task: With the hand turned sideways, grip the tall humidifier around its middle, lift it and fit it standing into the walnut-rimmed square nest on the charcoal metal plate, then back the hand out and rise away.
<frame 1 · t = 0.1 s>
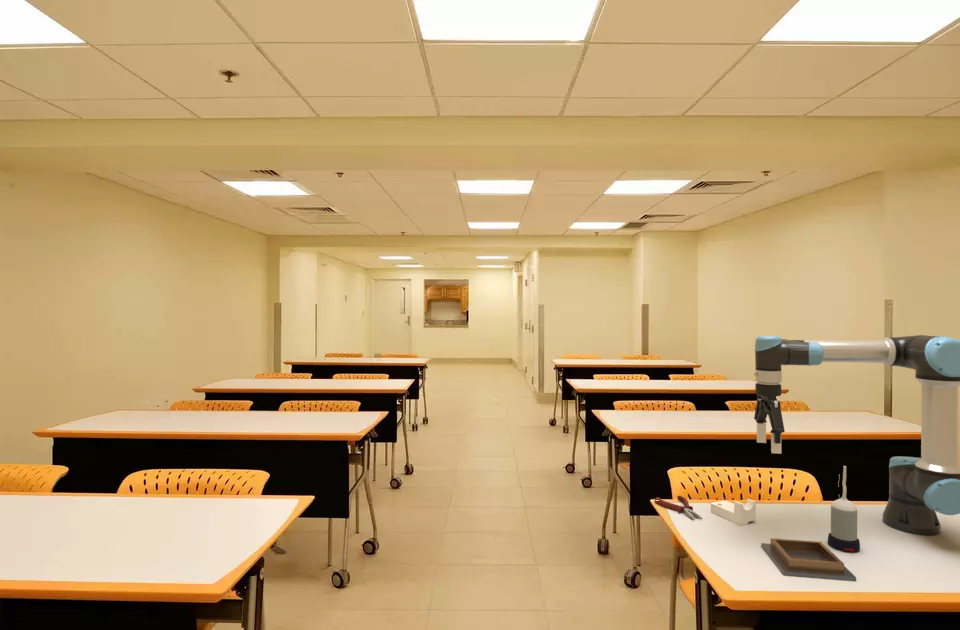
hand: (768, 447, 173), 28 cm above the table, tool pointing down, fingers open, 13 cm apart
fitting nest: (805, 562, 153), on the table
pliers: (676, 511, 193), on the table
bracket: (732, 518, 186), on the table
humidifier: (843, 547, 163), on the table
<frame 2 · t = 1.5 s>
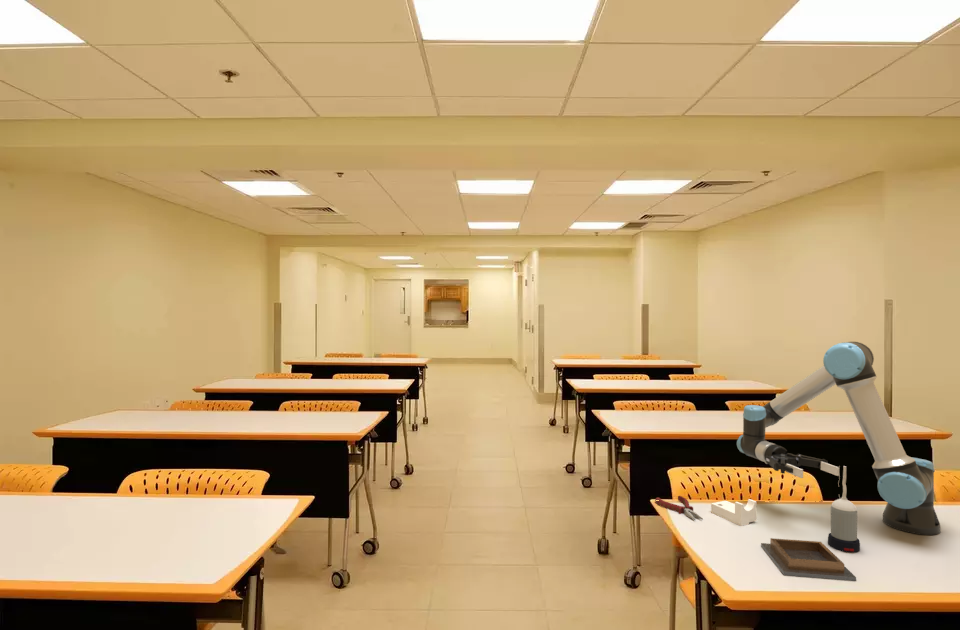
hand: (820, 472, 172), 20 cm above the table, tool horizontal, fingers open, 13 cm apart
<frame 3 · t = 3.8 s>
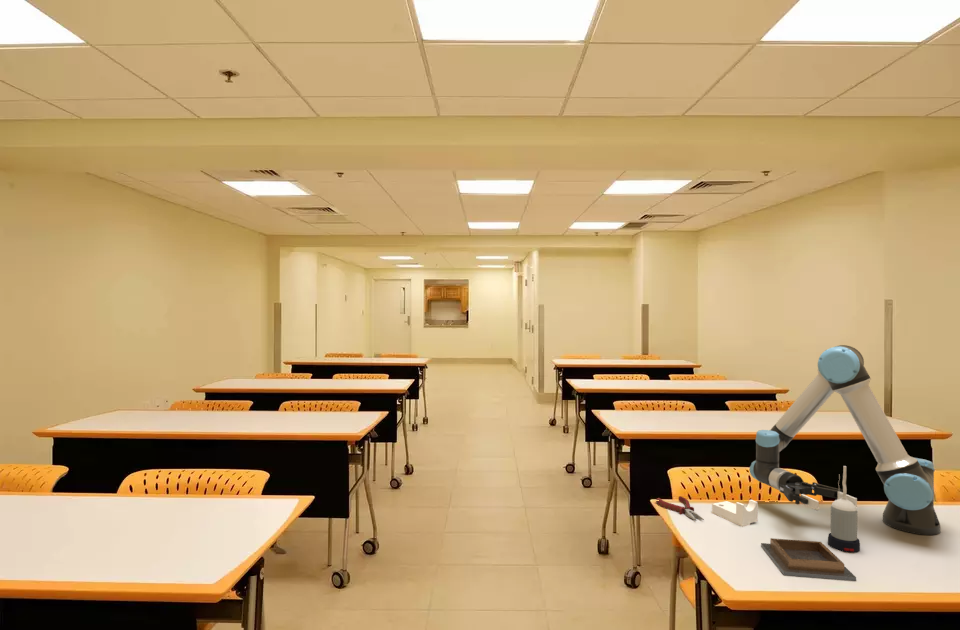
hand: (837, 504, 165), 12 cm above the table, tool horizontal, fingers open, 13 cm apart
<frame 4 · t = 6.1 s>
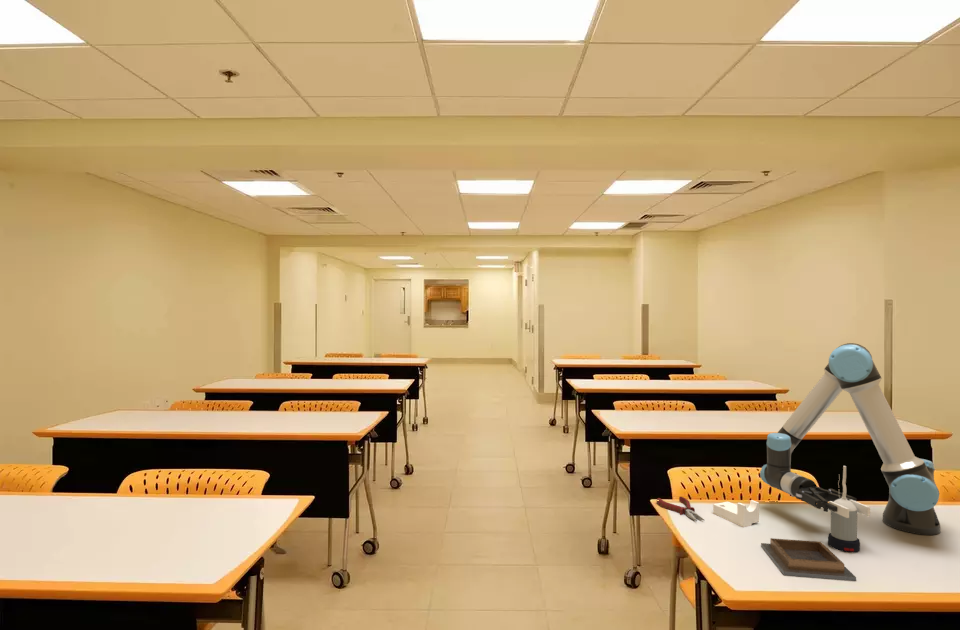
hand: (858, 512, 158), 13 cm above the table, tool horizontal, fingers closed on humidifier, 7 cm apart
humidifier: (843, 547, 163), on the table, touching gripper
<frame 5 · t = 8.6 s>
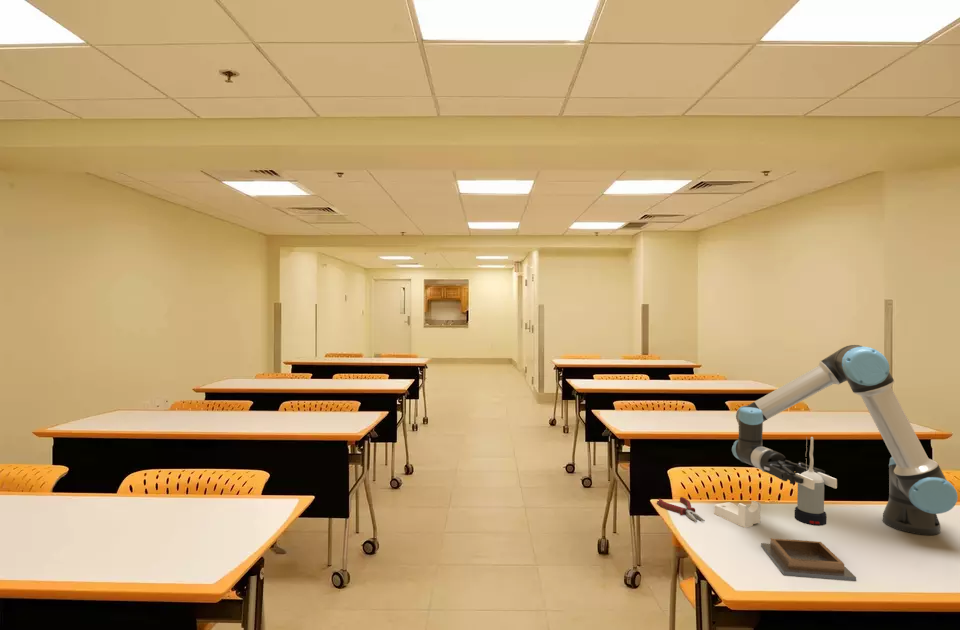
hand: (824, 484, 153), 23 cm above the table, tool horizontal, fingers closed on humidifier, 7 cm apart
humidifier: (810, 520, 158), point 10 cm above the table, touching gripper
when the fingers open (14 cm above the table, at t = 11.3 s): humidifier stays where it is, resting on fitting nest.
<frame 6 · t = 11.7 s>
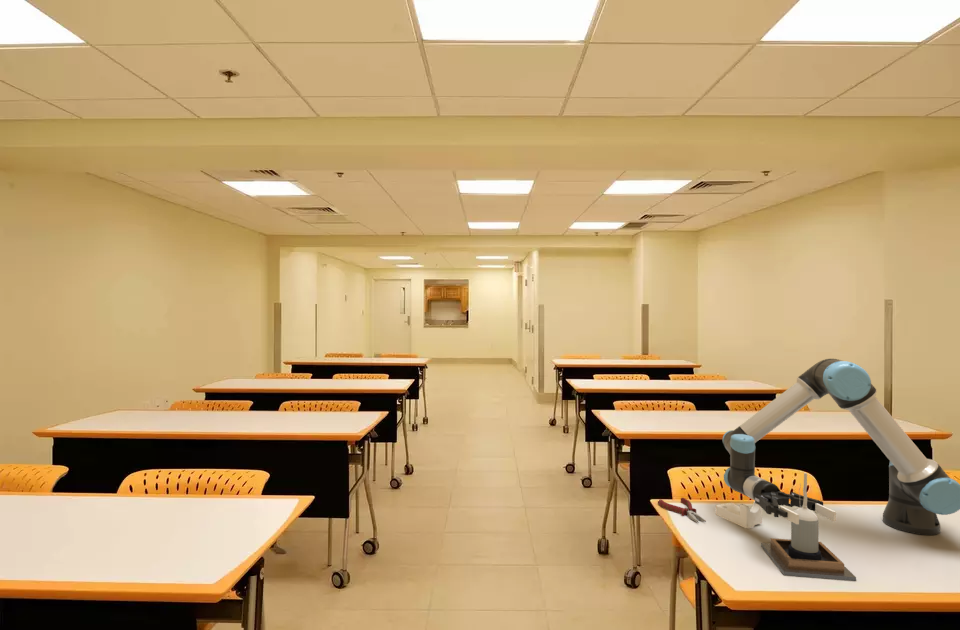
hand: (816, 517, 149), 14 cm above the table, tool horizontal, fingers open, 11 cm apart
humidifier: (804, 559, 153), point 1 cm above the table, touching fitting nest
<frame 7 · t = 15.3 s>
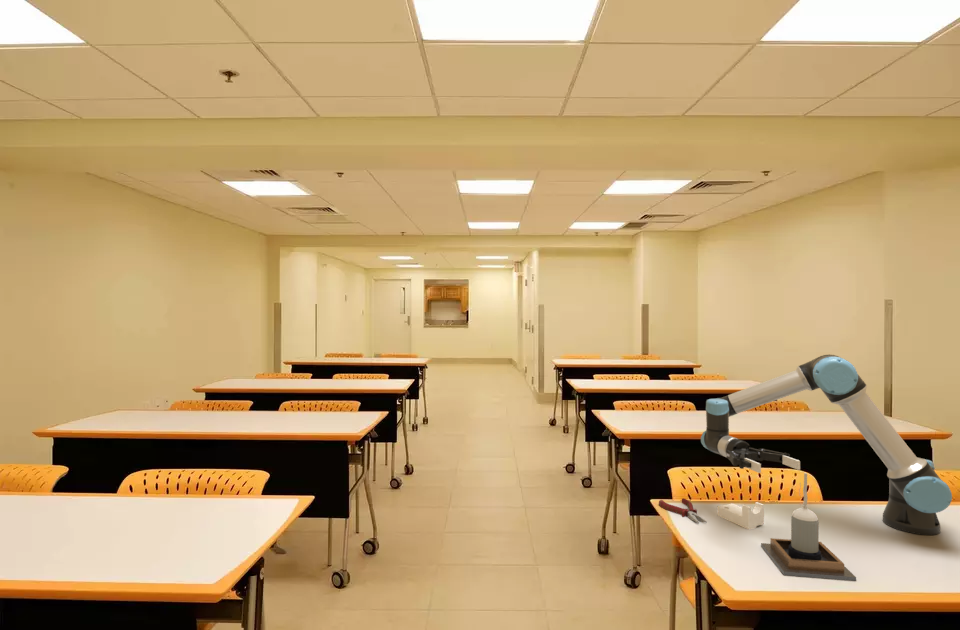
hand: (779, 466, 162), 25 cm above the table, tool horizontal, fingers open, 13 cm apart
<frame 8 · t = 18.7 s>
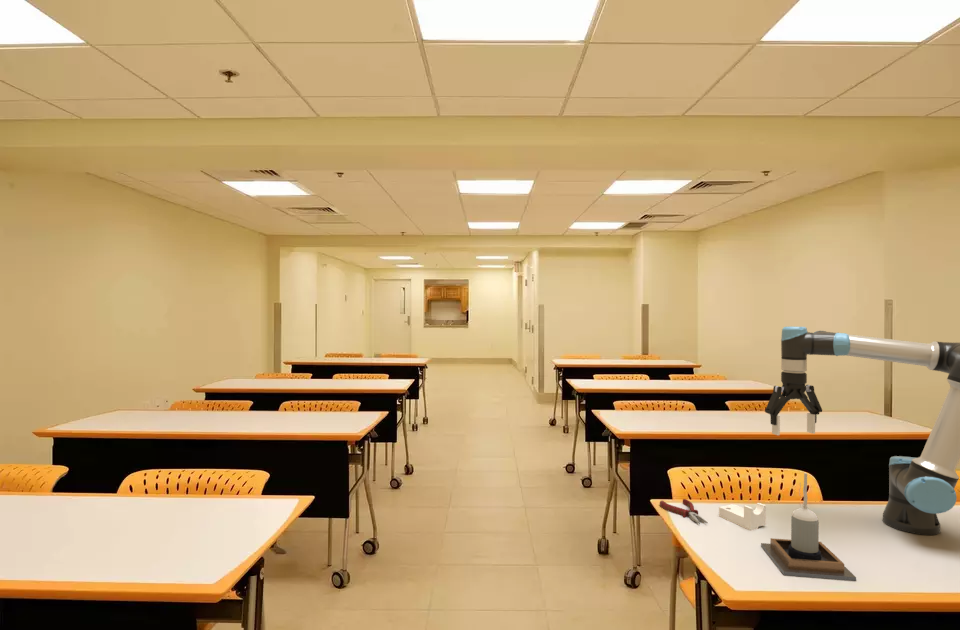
hand: (793, 433, 181), 31 cm above the table, tool pointing down, fingers open, 13 cm apart
at the end: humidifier 0.2 cm off-centre on the fitting nest, point 0.8 cm above the fitting nest's base; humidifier tilted 0°; the gripper is holding nothing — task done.
